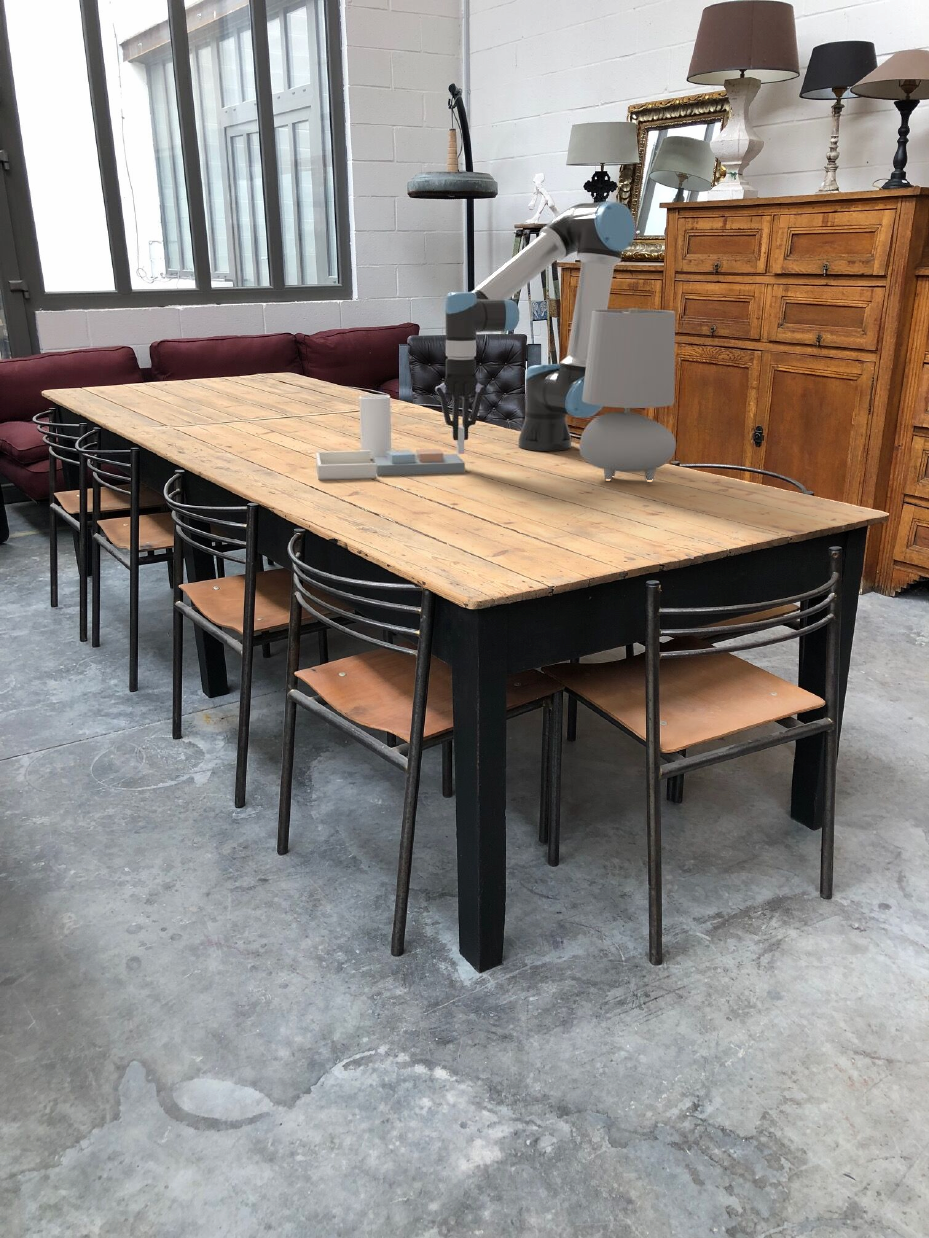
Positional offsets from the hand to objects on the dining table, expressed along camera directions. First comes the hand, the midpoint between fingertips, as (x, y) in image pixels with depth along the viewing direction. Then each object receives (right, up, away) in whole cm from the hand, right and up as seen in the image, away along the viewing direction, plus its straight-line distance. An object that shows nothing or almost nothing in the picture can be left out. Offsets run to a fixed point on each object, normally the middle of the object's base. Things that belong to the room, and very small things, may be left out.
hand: (460, 452), depth 247 cm
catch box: (-29, -5, -3) cm, 30 cm away
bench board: (-11, -4, 0) cm, 12 cm away
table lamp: (+40, -9, -12) cm, 43 cm away
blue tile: (-15, -2, -2) cm, 15 cm away
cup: (-23, +2, +16) cm, 28 cm away
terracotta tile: (-8, -2, -1) cm, 8 cm away
